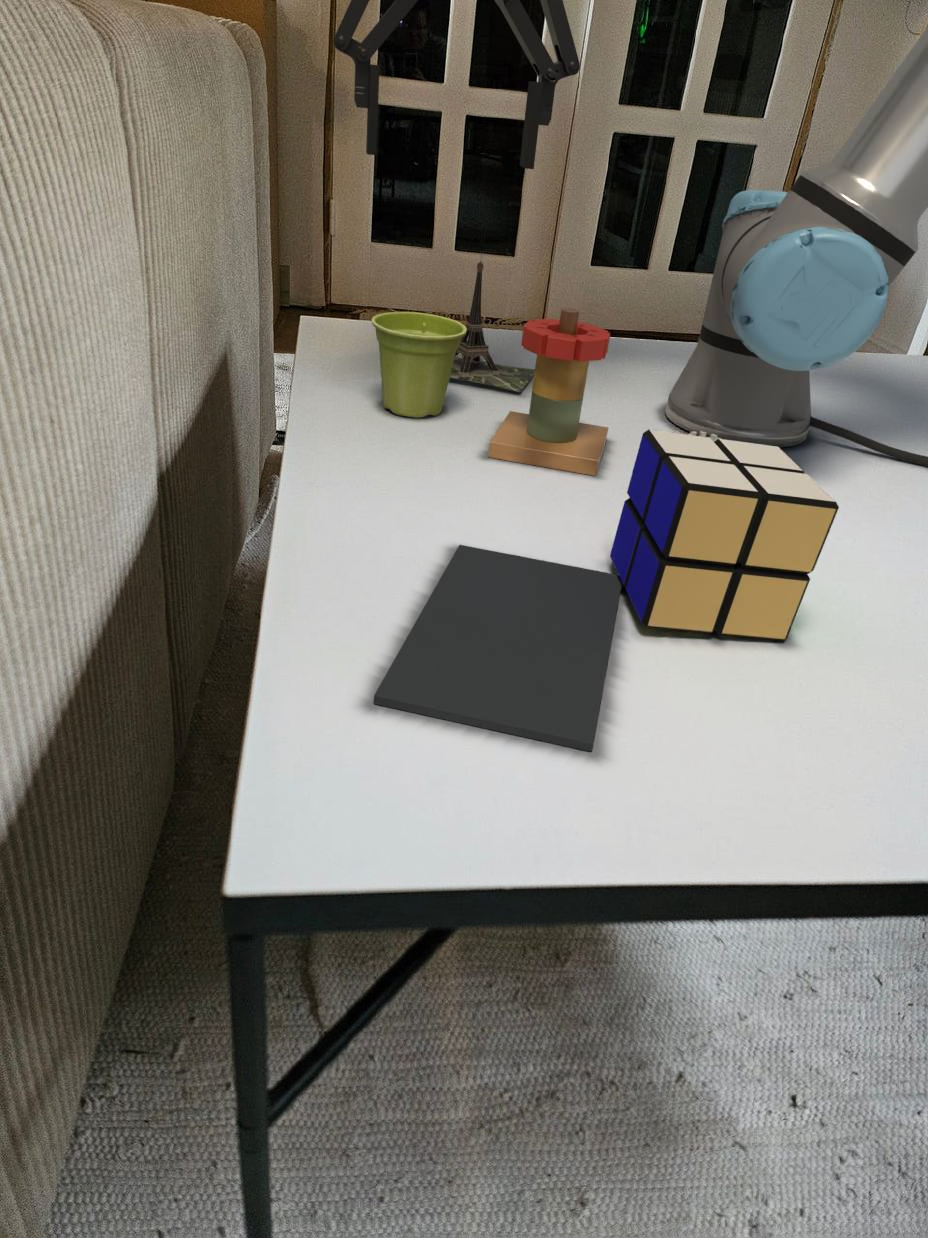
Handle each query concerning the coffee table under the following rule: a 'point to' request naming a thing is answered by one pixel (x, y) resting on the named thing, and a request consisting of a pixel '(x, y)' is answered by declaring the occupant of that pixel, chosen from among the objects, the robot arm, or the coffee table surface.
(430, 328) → the plant pot
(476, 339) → the eiffel tower figurine
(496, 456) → the stack tower
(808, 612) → the coffee table surface
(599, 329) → the red ring
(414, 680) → the slate mat
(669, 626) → the puzzle cube
